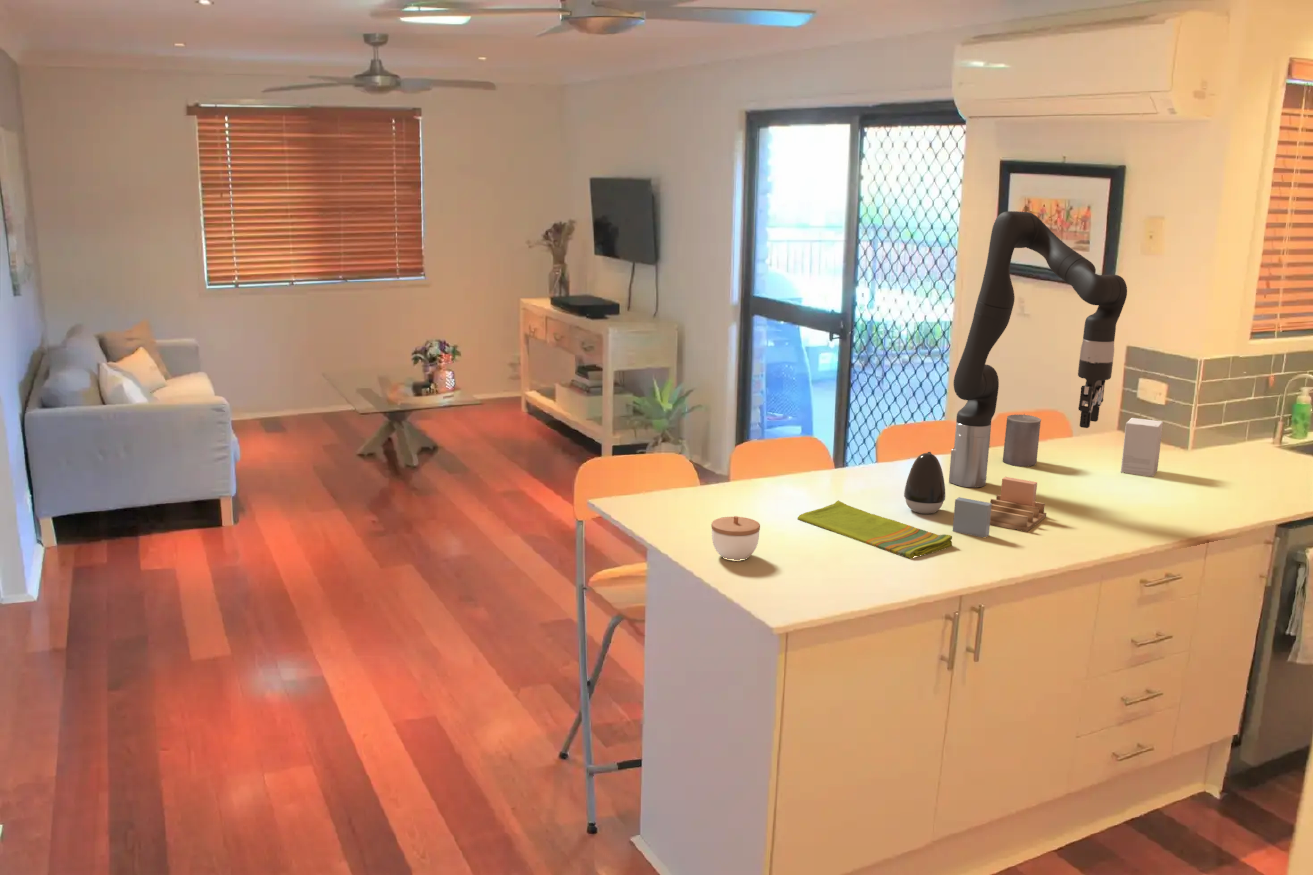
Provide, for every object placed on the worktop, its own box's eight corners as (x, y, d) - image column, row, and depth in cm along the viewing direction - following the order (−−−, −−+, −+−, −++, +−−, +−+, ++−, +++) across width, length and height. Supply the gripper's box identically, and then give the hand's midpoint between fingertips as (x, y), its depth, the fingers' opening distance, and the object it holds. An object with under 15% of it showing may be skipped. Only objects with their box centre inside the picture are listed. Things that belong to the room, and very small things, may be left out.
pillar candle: (1000, 457, 332) (1004, 409, 328) (1033, 459, 331) (1038, 410, 327) (1005, 466, 323) (1010, 416, 319) (1039, 467, 321) (1044, 418, 318)
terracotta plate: (999, 509, 277) (1002, 478, 275) (1002, 506, 279) (1005, 476, 277) (1031, 515, 273) (1034, 484, 271) (1034, 512, 275) (1037, 482, 273)
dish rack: (974, 521, 270) (975, 507, 269) (995, 507, 282) (996, 494, 281) (1027, 531, 263) (1028, 518, 262) (1046, 516, 275) (1047, 503, 274)
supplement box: (1158, 470, 320) (1164, 420, 316) (1153, 477, 313) (1159, 426, 309) (1125, 465, 325) (1131, 416, 321) (1119, 472, 317) (1125, 422, 314)
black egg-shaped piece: (945, 507, 281) (950, 450, 278) (942, 518, 272) (947, 459, 268) (905, 503, 285) (909, 446, 281) (900, 514, 275) (904, 455, 272)
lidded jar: (707, 549, 248) (708, 509, 245) (754, 548, 249) (755, 509, 246) (714, 565, 237) (715, 524, 235) (762, 564, 238) (764, 523, 236)
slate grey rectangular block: (952, 531, 263) (955, 499, 261) (956, 528, 265) (959, 497, 263) (985, 538, 258) (988, 505, 256) (988, 535, 260) (991, 503, 258)
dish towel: (911, 562, 243) (912, 548, 242) (795, 521, 270) (796, 509, 269) (954, 548, 252) (955, 535, 251) (838, 510, 279) (838, 498, 279)
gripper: (1087, 353, 270) (1079, 417, 274) (1072, 360, 259) (1065, 427, 262) (1119, 356, 266) (1111, 421, 270) (1106, 364, 255) (1097, 432, 258)
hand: (1088, 424), depth 266 cm, fingers open, 8 cm apart
